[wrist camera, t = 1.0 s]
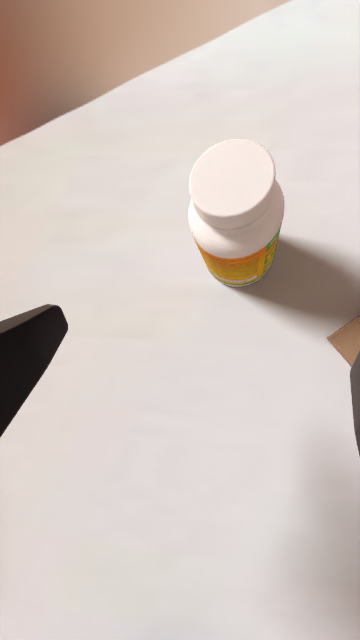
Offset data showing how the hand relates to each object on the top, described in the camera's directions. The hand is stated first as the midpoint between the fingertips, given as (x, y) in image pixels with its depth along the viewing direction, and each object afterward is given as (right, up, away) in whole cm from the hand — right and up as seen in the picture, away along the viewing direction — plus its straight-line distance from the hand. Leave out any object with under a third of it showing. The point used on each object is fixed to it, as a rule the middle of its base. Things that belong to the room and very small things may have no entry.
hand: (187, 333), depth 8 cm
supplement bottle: (+5, +6, +14) cm, 15 cm away
